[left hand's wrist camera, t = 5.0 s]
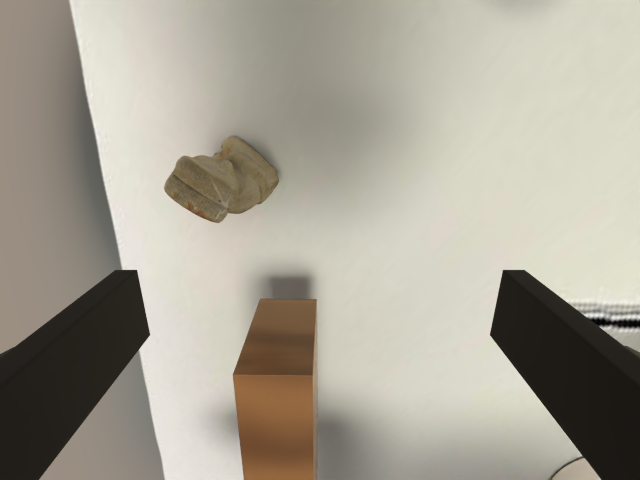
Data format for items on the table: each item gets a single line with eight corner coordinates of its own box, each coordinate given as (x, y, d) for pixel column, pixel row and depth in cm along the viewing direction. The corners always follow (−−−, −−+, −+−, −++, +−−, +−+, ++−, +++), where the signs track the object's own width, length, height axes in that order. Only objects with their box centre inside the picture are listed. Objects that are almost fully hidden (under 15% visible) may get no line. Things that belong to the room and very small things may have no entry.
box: (260, 298, 38) (232, 374, 26) (316, 299, 37) (312, 375, 26) (272, 474, 47) (255, 586, 36) (317, 475, 47) (314, 587, 36)
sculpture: (238, 125, 37) (188, 132, 23) (289, 168, 39) (272, 199, 25) (208, 166, 39) (144, 196, 25) (259, 206, 41) (226, 256, 26)
